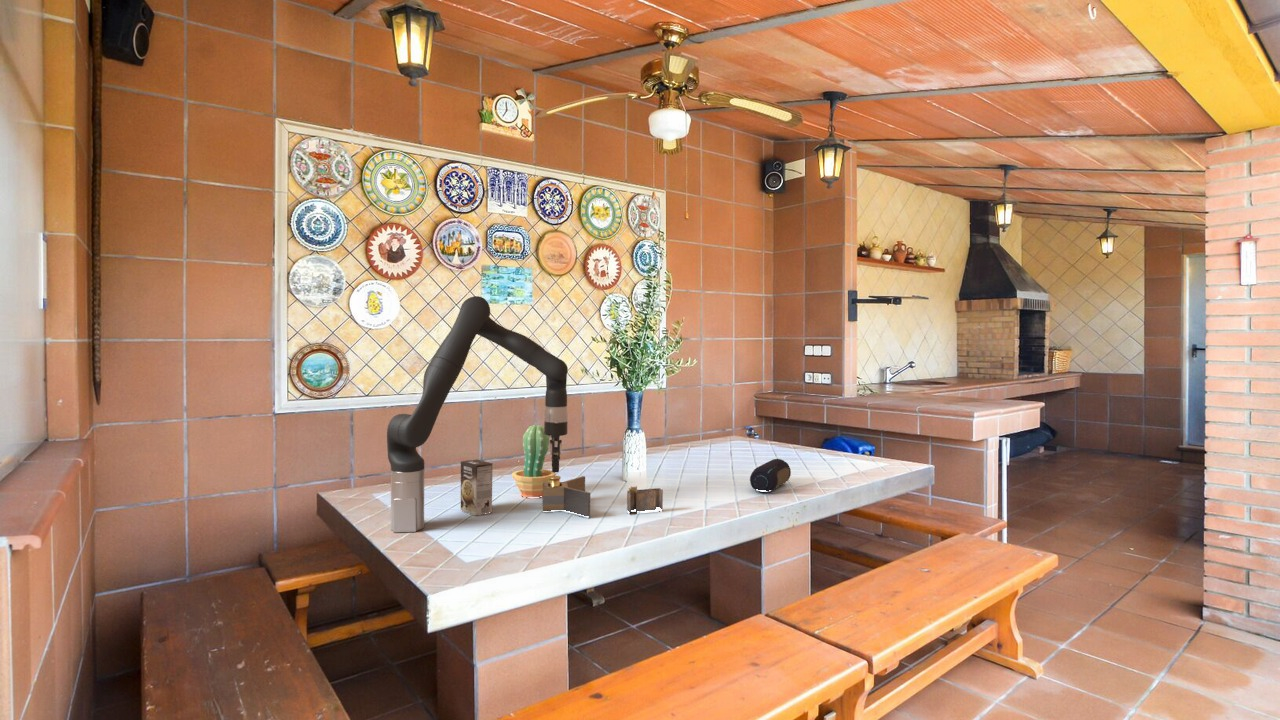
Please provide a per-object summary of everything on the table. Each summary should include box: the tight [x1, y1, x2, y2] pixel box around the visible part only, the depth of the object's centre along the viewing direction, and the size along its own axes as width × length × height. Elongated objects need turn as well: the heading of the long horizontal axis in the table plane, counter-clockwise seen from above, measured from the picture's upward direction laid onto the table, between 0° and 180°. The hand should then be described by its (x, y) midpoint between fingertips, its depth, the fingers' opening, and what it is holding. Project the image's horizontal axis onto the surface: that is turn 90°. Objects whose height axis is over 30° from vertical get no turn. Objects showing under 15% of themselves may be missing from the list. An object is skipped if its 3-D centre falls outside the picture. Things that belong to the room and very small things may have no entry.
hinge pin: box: [549, 475, 562, 486], centre depth 216 cm, size 4×4×11 cm
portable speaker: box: [749, 458, 792, 491], centre depth 250 cm, size 25×10×10 cm, turn 151°
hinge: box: [541, 475, 591, 517], centre depth 216 cm, size 25×15×8 cm, turn 9°
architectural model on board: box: [626, 485, 664, 512], centre depth 213 cm, size 11×3×10 cm, turn 111°
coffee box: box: [460, 459, 494, 516], centre depth 211 cm, size 9×6×16 cm
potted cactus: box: [511, 424, 557, 498], centre depth 233 cm, size 15×15×25 cm
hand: (555, 469), depth 215 cm, fingers open, 8 cm apart
